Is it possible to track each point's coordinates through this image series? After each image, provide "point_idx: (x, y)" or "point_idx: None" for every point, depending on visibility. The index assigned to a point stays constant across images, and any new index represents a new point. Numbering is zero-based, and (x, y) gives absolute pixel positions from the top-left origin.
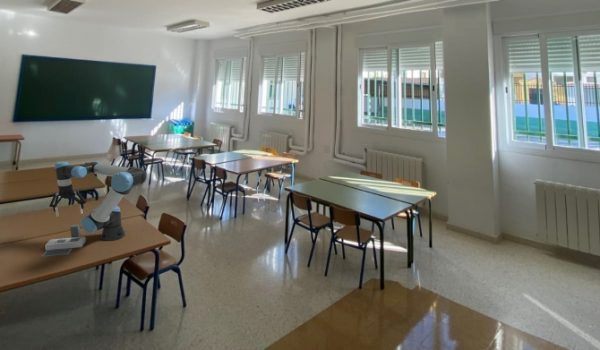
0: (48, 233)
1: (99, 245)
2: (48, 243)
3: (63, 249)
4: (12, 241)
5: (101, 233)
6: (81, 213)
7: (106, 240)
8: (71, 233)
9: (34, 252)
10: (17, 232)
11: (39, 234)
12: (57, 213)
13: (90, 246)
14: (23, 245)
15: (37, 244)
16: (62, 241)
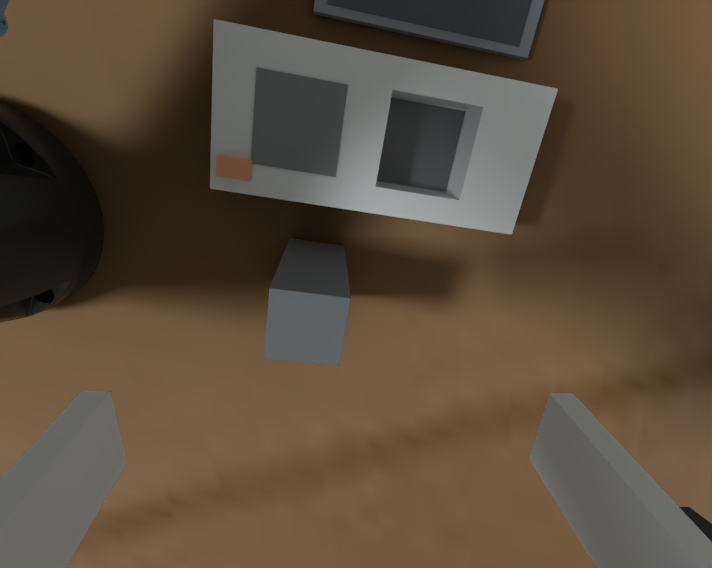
0: (510, 435)
1: (57, 3)
2: (527, 133)
3: (389, 26)
4: (708, 376)
5: (56, 211)
6: (84, 401)
7: (17, 111)
8: (343, 267)
9: (607, 94)
10: None
11: None
12: (593, 454)
13: (148, 17)
14: (661, 282)
15: (579, 265)
16: (411, 190)
